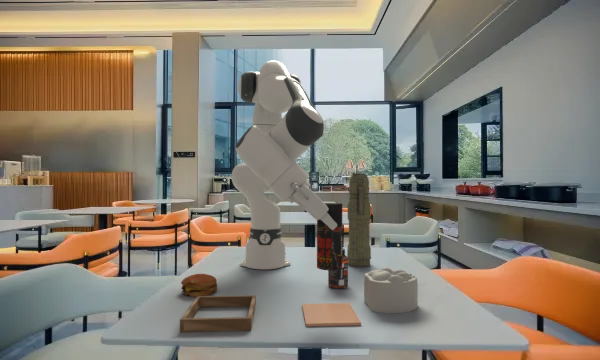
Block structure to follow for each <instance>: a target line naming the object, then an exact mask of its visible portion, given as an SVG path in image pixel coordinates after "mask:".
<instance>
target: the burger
mask: <svg viewBox="0 0 600 360" xmlns="http://www.w3.org/2000/svg"><path fill="white" fill-rule="evenodd" d="M217 280H218V279H217V278H216V277H215V276H213V275H211V274H207V273H196V274H192V275H188V276H187V277H184V279H182V280H181V282H180V283H181V285H182V286H181V288H180V289H181V292H182V293H183V294H184V295H185V296H189V297H191V298H197V296H211V294H212V293H215V292H216V291H217V290H218V281H217Z"/></svg>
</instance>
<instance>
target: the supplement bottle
mask: <svg viewBox="0 0 600 360" xmlns="http://www.w3.org/2000/svg"><path fill="white" fill-rule="evenodd" d="M327 271H328V277H327V279H328V280H327V283H328V286H329V287H330V288H332V289H339V290H341V289H345V288H347V287H348V286H349V265H348V257H347V255H346V248H343V247H342V269H340V270H332V271H331V270H327Z"/></svg>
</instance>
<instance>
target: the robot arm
mask: <svg viewBox="0 0 600 360" xmlns="http://www.w3.org/2000/svg"><path fill="white" fill-rule="evenodd" d="M237 90H238V93H239V96H240V99H241V100H242V101H243V102H245V103H248V104H252V103H254V108H253V113H252V114H253V115H252V125H251V126H250V127H249V128H248V129H246V131H245V132H244V134H243V135H241V137H240V138H239V140H238V141H237V142H236V145H235V151H236V154H237V156H239V158H240V160H242V162H243V163H239V164H236V165H235V166H234V168H233V169H232V172H231V176H230V178H231V182H232V184H233V186H234V187H235V189H236V190H238V191H239V192H240V193H241V194H242V195H243V196H244V197H245V198H246V201H247V202H248V205H249V210H250V228H249V240H248V241H247V242H246V243H245V253H244V254H245V255H244V258H245V259H244V260H242V261H241V262H240V266H241V267H246V268H249V269H253V270H275V269H280V268H283V267H288V266H291V262H290V260H288V259H287V257H286V243H285V242H284V240H282V233H283V232H282V228H281V209H280V206H279V205H278V204H277V203H275V202H274V201H272V200H270V199H268V198H267V197H266V196H265V195H266V194H265V193H267V192H272V193H273V194H274V195H275V196H276V197H277V198H278V199H279V200H280V201H281V202H283V203H284V202H285V201H287V200H288V201H289V203H290V204H293V203H296V204H297V205H298V206H299V207H301V208H302V209H303V210H305V212H307V213H309V215H310V216H311V217H312V218H313V219H315V220H316V221H317V220H319V219H320V220H322V221H323V222H324V223H325V224H326V225H327V226H328V227H329V228H330V229H331V230H334V229H335V228H336V227H337V223H336V222H335V221H334V220H333V219H332V218H331V217H330V215H329V214H328V213H327V211H328V210H329V208H328V207H327V205H326V204H325V203H326V202H324V201H323V200H322V199H321V198H320V197H319V196H318V195H317V194H316V193H315V192H314V191H313V190H312V189H311V188H310V186H311V183H310V182H308V180H307V179H308V178H309V177H310V175H309V173H307V172H306V171H305V170H304V168H302V167H301V165H299V164H298V163H297V160H298V159H299V158H300V157H301V156H302V155H303V154H304V153H305V152H306V151H307V150H308V149H309V148H310V147H311V146H312V145H314V144H315V143H316V142H317V141H319V140H320V139H321V138H322V137H323V135H324V132H325V131H324V130H325V127H324V125H325V124H324V120H323V117H322V115H320V113H319V112H318V110H317V109H316V108H315V107H314V105H313V103H312V101H311V99H310V97H309V95H308V94H307V91H306V90H305V88H304V87H303V86H302V82H301V79H300V77H299V76H297V75H295V74H291V73H290V72H289V70H288V69H287V67H286V65H285V64H283V63H282V62H281V61H278V60H269V61H267V62H265V63H263V64H262V66H261V67H260V69H259V71H246V72H243V73H242V74H241V75H240V79H239V80H238V83H237ZM283 113H285V115H283V117H282V114H283Z"/></svg>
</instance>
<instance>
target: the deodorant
mask: <svg viewBox="0 0 600 360" xmlns="http://www.w3.org/2000/svg"><path fill="white" fill-rule="evenodd" d="M324 203H325V204H326V205H327V207H328V208H329V210H328V211H327V213H328V214H329V215H330V217H331V218H332V219H333V220H334V221H335V222H336V223H337V227H336V228H335V229H334V230H331V229H330V228H329V227H328V226H327V225H326V224H325V223H324V222H323V221H322V220H320V219H319V220H316V268H317V269H319V270H321V271H322V270H323V271H328V270H331V271H332V270H340V269H342V248H343V203H339V202H324Z"/></svg>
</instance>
